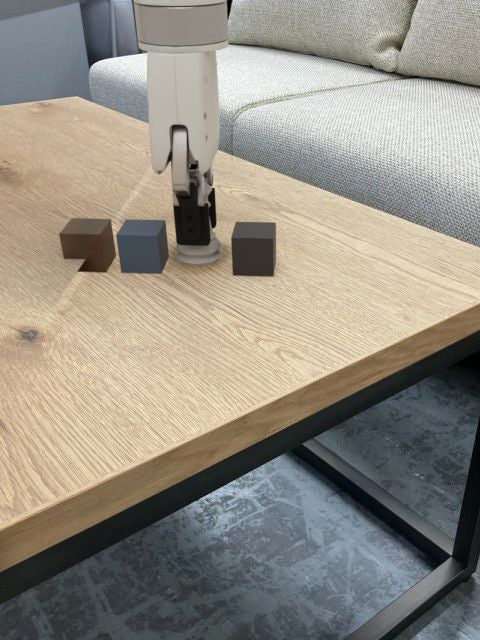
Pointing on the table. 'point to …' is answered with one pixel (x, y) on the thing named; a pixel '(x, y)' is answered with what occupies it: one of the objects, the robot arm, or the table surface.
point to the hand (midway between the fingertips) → (197, 233)
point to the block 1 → (89, 243)
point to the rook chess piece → (201, 254)
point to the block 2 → (143, 246)
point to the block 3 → (254, 248)
